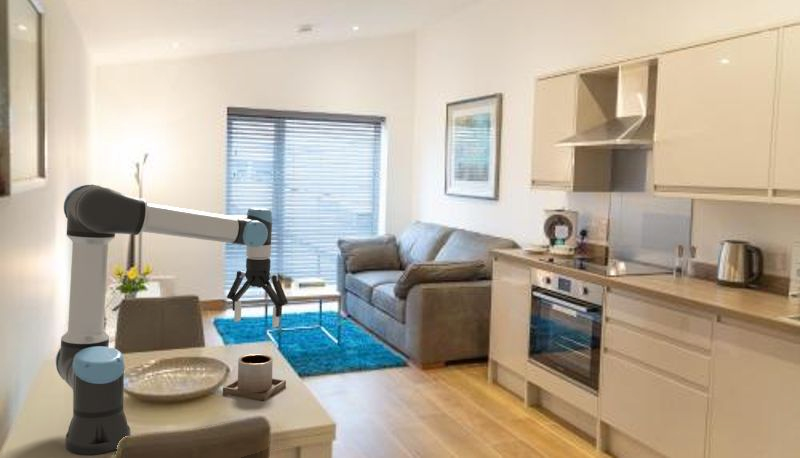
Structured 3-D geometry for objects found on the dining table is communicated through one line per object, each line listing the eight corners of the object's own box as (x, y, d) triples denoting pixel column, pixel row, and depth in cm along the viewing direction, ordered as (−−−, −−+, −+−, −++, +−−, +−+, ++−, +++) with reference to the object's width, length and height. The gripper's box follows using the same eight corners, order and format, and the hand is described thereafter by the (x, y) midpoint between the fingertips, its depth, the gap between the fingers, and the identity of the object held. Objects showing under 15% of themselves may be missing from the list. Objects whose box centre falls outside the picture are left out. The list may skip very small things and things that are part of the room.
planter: (230, 389, 208) (230, 360, 207) (252, 380, 217) (253, 351, 216) (256, 396, 203) (257, 366, 202) (279, 386, 212) (279, 357, 211)
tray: (263, 401, 201) (263, 394, 201) (222, 393, 205) (222, 387, 205) (285, 386, 215) (285, 380, 214) (247, 379, 219) (247, 373, 219)
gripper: (299, 259, 205) (297, 326, 207) (230, 252, 213) (228, 316, 215) (288, 262, 198) (286, 331, 200) (217, 255, 206) (215, 321, 208)
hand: (256, 323), depth 208 cm, fingers open, 13 cm apart
